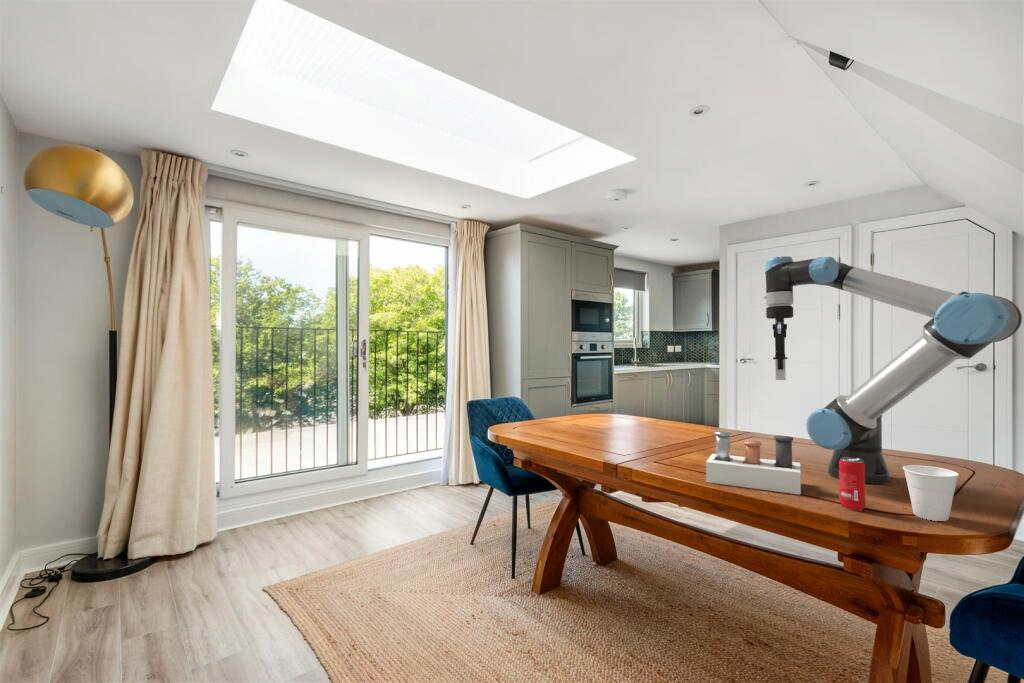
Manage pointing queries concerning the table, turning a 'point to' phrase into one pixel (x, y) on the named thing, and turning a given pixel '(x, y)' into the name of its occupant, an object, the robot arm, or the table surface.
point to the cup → (931, 491)
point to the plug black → (783, 451)
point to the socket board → (754, 474)
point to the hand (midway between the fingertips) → (780, 379)
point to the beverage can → (852, 483)
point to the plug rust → (752, 452)
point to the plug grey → (723, 445)
